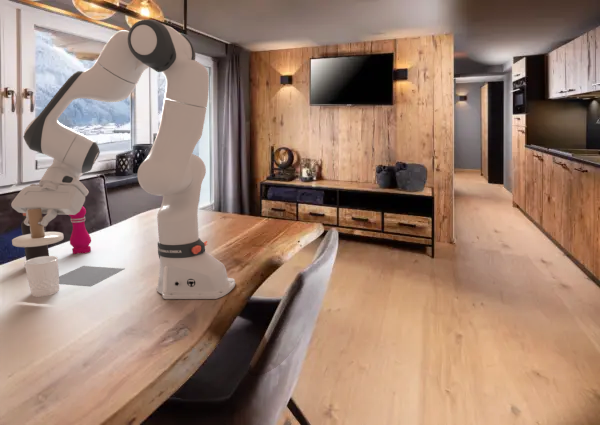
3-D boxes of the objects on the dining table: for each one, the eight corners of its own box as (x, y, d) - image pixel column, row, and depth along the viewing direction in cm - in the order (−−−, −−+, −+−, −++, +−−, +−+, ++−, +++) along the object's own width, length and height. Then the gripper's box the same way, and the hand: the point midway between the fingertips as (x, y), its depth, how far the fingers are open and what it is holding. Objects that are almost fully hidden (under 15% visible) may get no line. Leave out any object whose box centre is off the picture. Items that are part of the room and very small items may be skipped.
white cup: (51, 299, 112) (46, 264, 110) (22, 299, 112) (17, 264, 110) (67, 288, 120) (63, 255, 118) (41, 288, 120) (36, 256, 118)
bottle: (36, 261, 146) (28, 206, 142) (54, 261, 145) (47, 206, 141) (22, 267, 139) (13, 209, 135) (40, 267, 138) (32, 210, 135)
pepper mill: (95, 251, 157) (89, 200, 153) (75, 256, 152) (68, 203, 148) (88, 248, 162) (82, 198, 158) (68, 252, 156) (61, 200, 152)
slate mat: (125, 270, 135) (125, 268, 135) (91, 288, 120) (91, 286, 119) (83, 267, 138) (83, 265, 138) (45, 284, 123) (44, 282, 123)
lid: (73, 236, 118) (69, 206, 116) (39, 248, 106) (35, 214, 104) (38, 235, 120) (33, 204, 118) (1, 246, 108) (-4, 212, 107)
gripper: (20, 177, 119) (-6, 217, 111) (81, 178, 114) (58, 220, 107) (35, 190, 124) (11, 229, 116) (94, 192, 119) (73, 232, 112)
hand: (34, 225), depth 111 cm, fingers closed on lid, 3 cm apart
